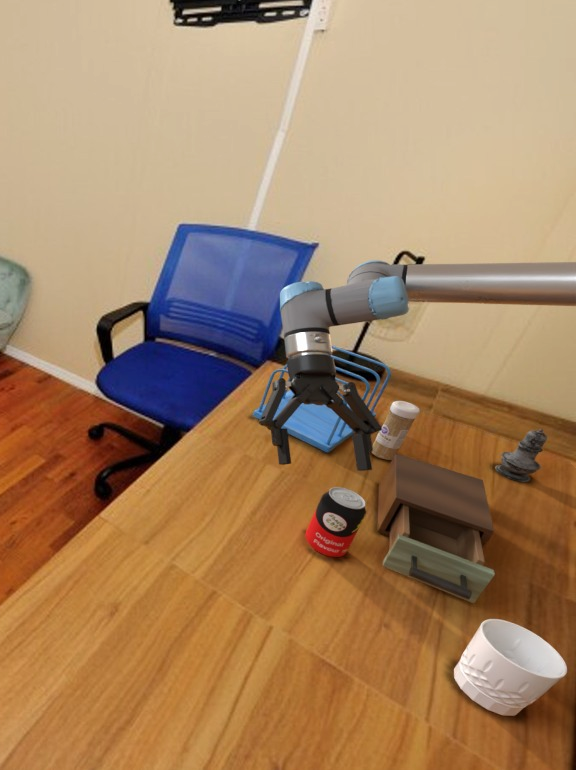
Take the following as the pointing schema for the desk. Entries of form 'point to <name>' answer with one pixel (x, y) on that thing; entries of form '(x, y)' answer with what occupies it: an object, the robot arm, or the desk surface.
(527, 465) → the grey chess piece
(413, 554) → the drawer
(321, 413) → the file sorter
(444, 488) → the cabinet
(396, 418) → the sprinkles bottle
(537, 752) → the desk surface
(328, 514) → the beverage can
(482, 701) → the white cup
